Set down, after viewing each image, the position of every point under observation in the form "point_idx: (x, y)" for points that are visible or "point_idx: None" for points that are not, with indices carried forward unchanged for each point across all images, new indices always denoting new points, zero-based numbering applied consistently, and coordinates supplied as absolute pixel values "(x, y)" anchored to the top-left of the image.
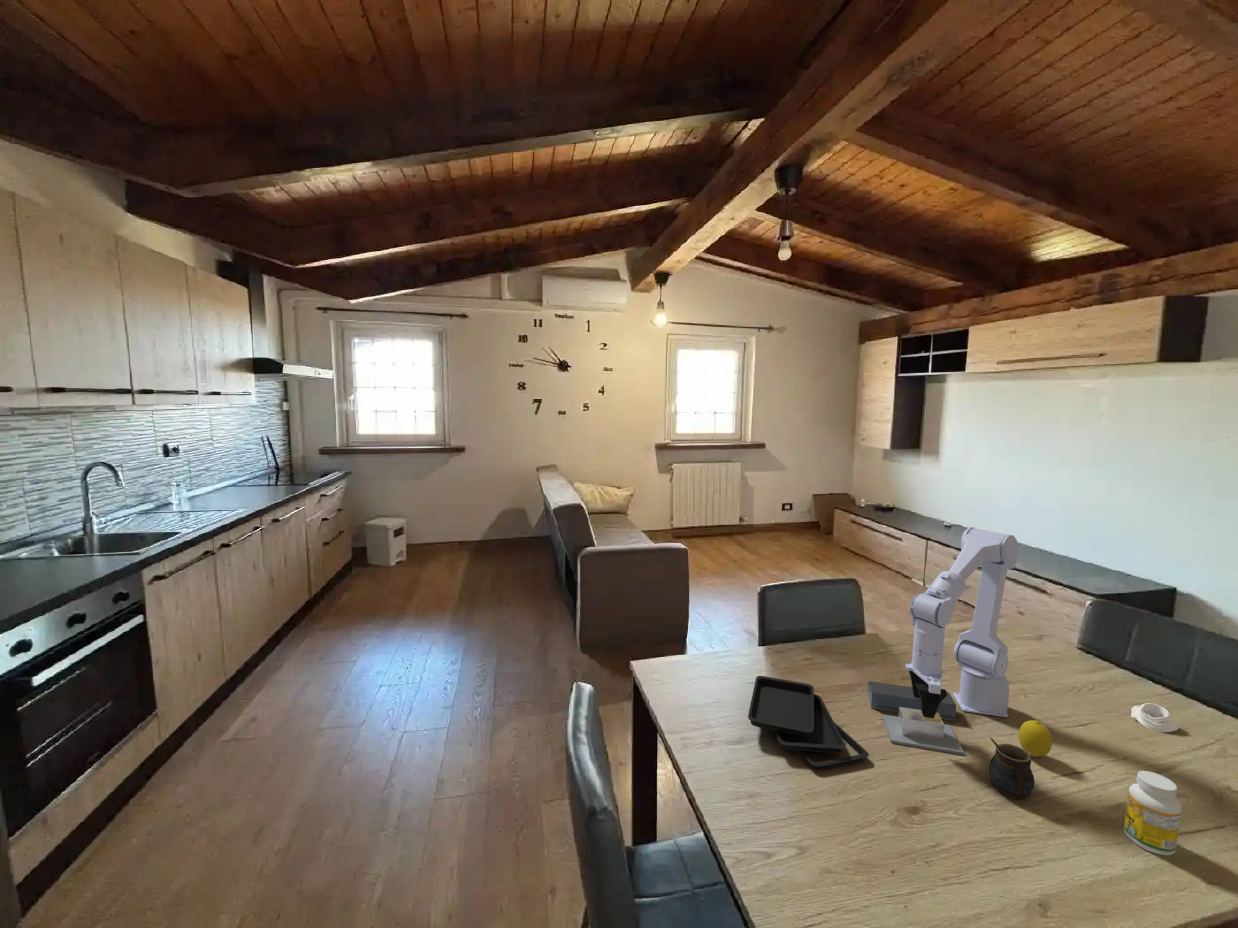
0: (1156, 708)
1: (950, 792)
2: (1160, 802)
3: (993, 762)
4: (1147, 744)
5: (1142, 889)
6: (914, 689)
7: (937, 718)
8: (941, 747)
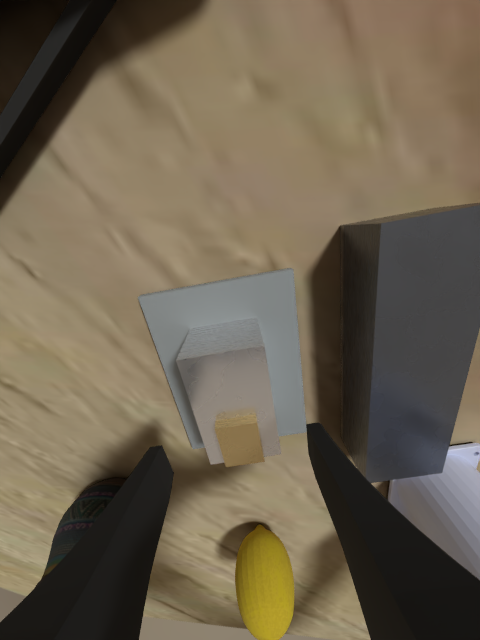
0: None
1: (21, 414)
2: None
3: (76, 538)
4: (359, 609)
5: (7, 568)
6: (322, 461)
7: (223, 458)
8: (185, 412)
